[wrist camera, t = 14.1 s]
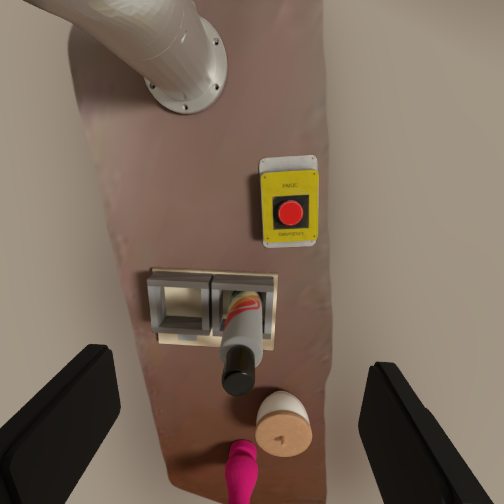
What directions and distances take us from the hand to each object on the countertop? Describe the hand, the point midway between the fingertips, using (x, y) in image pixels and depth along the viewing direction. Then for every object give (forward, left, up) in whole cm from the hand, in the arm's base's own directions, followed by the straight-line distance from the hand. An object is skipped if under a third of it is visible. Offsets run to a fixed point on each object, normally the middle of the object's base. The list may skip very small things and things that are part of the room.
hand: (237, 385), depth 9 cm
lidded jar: (+40, +6, -37) cm, 55 cm away
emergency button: (-2, +5, -37) cm, 37 cm away
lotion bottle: (+15, -2, -35) cm, 38 cm away
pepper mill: (+55, -2, -36) cm, 66 cm away
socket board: (+18, -8, -36) cm, 41 cm away
